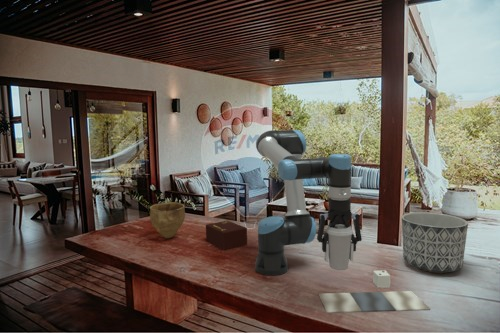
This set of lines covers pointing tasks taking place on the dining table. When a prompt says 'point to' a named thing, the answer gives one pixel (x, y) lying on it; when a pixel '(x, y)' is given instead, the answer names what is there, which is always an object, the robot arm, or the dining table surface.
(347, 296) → the track
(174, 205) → the bowl
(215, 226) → the box
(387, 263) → the dining table surface
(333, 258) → the coffee cup
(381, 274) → the die
